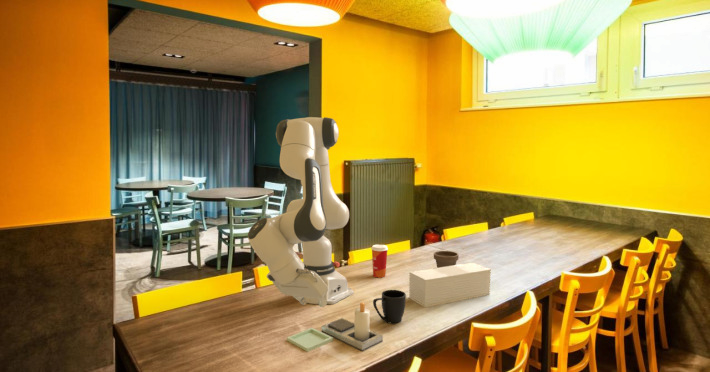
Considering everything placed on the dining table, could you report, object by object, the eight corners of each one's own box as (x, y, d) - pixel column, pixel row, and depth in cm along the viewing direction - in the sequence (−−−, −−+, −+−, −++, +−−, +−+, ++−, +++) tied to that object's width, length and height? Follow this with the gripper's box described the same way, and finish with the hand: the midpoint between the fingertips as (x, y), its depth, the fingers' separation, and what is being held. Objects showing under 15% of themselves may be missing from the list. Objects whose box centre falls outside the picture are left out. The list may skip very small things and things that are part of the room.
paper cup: (371, 272, 199) (372, 243, 198) (388, 273, 198) (388, 244, 197) (370, 278, 191) (370, 247, 190) (387, 279, 190) (387, 248, 189)
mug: (367, 319, 147) (367, 293, 146) (397, 314, 152) (397, 288, 151) (379, 329, 139) (379, 301, 138) (409, 322, 145) (410, 295, 144)
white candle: (361, 334, 133) (362, 299, 132) (372, 339, 130) (373, 303, 128) (350, 339, 130) (351, 303, 128) (361, 344, 127) (362, 307, 125)
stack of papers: (471, 286, 182) (472, 262, 181) (489, 295, 172) (490, 269, 171) (409, 298, 168) (409, 271, 167) (424, 307, 158) (425, 279, 157)
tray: (312, 331, 137) (312, 327, 137) (332, 342, 130) (332, 337, 130) (286, 342, 130) (286, 337, 130) (307, 353, 123) (307, 348, 123)
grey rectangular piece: (341, 325, 142) (342, 315, 142) (382, 343, 130) (382, 333, 129) (321, 333, 136) (321, 323, 136) (362, 353, 123) (362, 342, 123)
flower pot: (430, 271, 203) (430, 250, 202) (453, 270, 204) (453, 250, 203) (437, 278, 192) (437, 257, 191) (461, 278, 193) (462, 256, 192)
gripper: (316, 261, 115) (342, 298, 120) (277, 262, 131) (301, 294, 135) (302, 277, 112) (329, 315, 116) (263, 276, 127) (289, 309, 131)
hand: (314, 304), depth 125 cm, fingers open, 8 cm apart
